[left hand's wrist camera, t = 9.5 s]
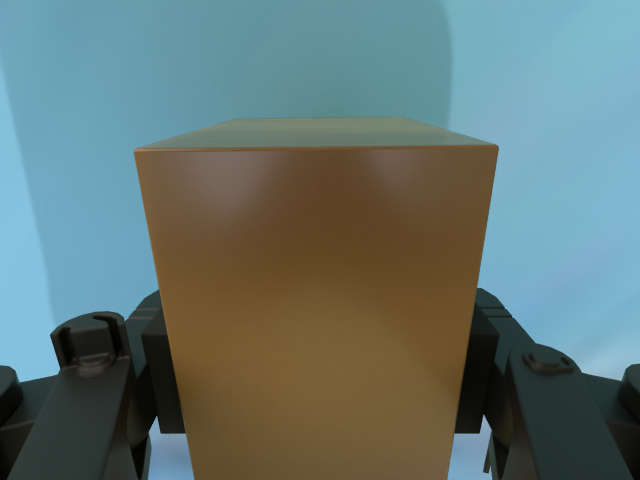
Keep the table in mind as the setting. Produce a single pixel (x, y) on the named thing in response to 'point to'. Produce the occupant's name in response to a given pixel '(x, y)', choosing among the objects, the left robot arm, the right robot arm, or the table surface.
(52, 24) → the table surface
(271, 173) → the block
